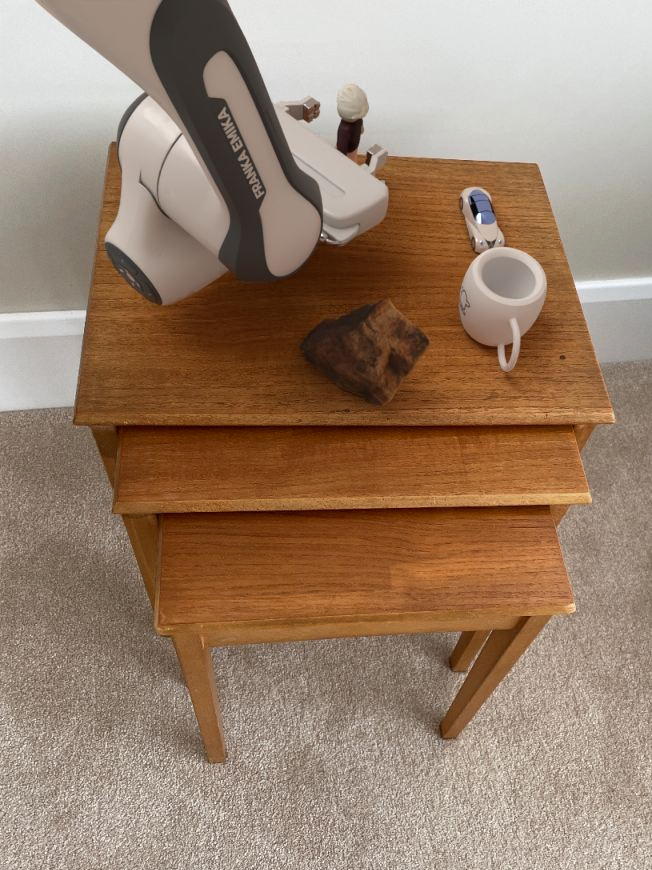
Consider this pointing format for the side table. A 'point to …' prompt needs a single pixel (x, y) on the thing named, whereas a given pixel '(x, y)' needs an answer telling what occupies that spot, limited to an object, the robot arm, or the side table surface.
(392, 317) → the decorative rock
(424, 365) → the side table surface
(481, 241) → the toy car
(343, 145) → the grandmother figurine
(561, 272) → the side table surface
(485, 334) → the mug
